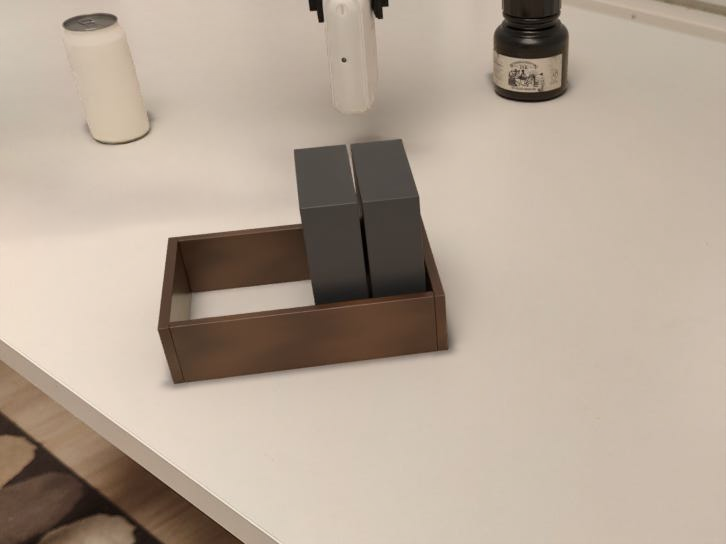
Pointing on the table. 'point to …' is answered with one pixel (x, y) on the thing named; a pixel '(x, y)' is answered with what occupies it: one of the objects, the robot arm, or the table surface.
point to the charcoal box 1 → (330, 224)
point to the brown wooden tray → (283, 310)
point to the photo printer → (351, 53)
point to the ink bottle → (530, 50)
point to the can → (105, 77)
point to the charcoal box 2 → (388, 218)
